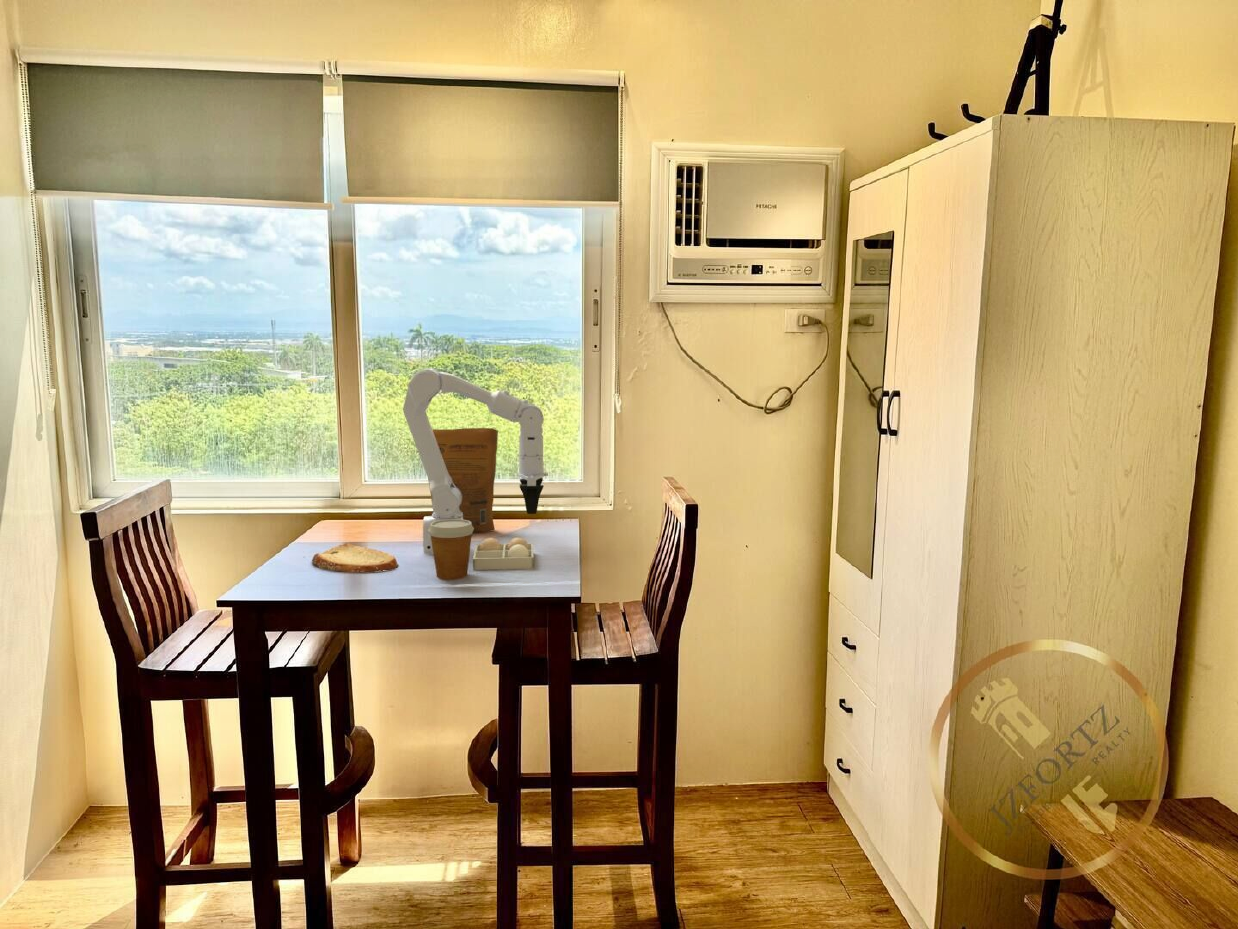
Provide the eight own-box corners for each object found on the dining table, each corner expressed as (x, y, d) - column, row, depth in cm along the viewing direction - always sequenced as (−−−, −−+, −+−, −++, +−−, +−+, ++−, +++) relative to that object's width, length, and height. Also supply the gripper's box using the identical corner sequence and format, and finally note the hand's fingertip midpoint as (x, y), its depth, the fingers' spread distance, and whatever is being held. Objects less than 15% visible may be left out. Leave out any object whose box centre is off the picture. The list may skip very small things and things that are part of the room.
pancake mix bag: (498, 534, 212) (496, 429, 208) (425, 534, 212) (422, 428, 208) (500, 528, 219) (499, 426, 215) (430, 528, 218) (427, 426, 214)
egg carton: (473, 572, 176) (472, 558, 176) (476, 556, 189) (476, 544, 189) (533, 570, 178) (533, 557, 177) (532, 555, 191) (532, 543, 190)
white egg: (507, 568, 178) (507, 549, 177) (508, 560, 183) (508, 541, 181) (528, 568, 179) (528, 548, 178) (528, 560, 183) (528, 541, 182)
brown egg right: (508, 559, 184) (507, 540, 184) (508, 554, 189) (508, 535, 188) (528, 559, 185) (528, 540, 184) (528, 554, 189) (528, 535, 189)
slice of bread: (401, 571, 178) (400, 555, 177) (314, 579, 171) (313, 562, 170) (390, 552, 194) (390, 537, 194) (311, 559, 187) (310, 543, 187)
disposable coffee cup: (477, 582, 168) (476, 526, 167) (430, 586, 166) (429, 529, 164) (472, 570, 177) (471, 517, 176) (427, 573, 175) (426, 519, 173)
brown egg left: (479, 560, 184) (479, 540, 183) (481, 555, 188) (480, 536, 188) (500, 560, 184) (500, 540, 184) (500, 554, 189) (500, 535, 188)
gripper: (548, 458, 186) (549, 516, 188) (547, 450, 200) (547, 504, 202) (518, 459, 185) (518, 516, 187) (518, 451, 199) (519, 504, 201)
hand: (531, 510), depth 194 cm, fingers open, 7 cm apart
